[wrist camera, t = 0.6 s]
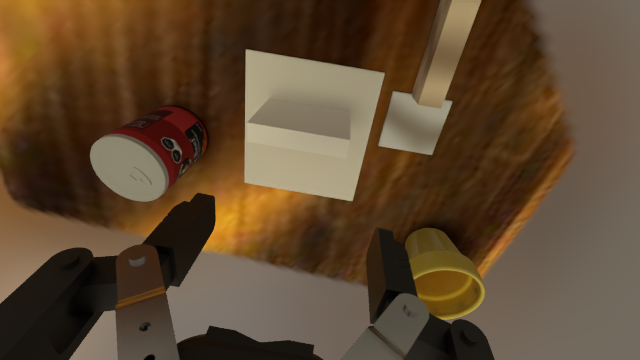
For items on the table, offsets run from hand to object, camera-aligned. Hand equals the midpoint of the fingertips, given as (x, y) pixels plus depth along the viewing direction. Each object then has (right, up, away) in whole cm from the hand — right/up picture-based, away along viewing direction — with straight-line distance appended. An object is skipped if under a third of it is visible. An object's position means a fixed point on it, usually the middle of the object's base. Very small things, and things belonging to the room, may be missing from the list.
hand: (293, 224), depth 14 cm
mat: (0, +8, +23) cm, 25 cm away
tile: (0, +11, +21) cm, 24 cm away
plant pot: (+18, -8, +31) cm, 37 cm away
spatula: (+14, +13, +19) cm, 27 cm away
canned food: (-18, +9, +25) cm, 32 cm away
